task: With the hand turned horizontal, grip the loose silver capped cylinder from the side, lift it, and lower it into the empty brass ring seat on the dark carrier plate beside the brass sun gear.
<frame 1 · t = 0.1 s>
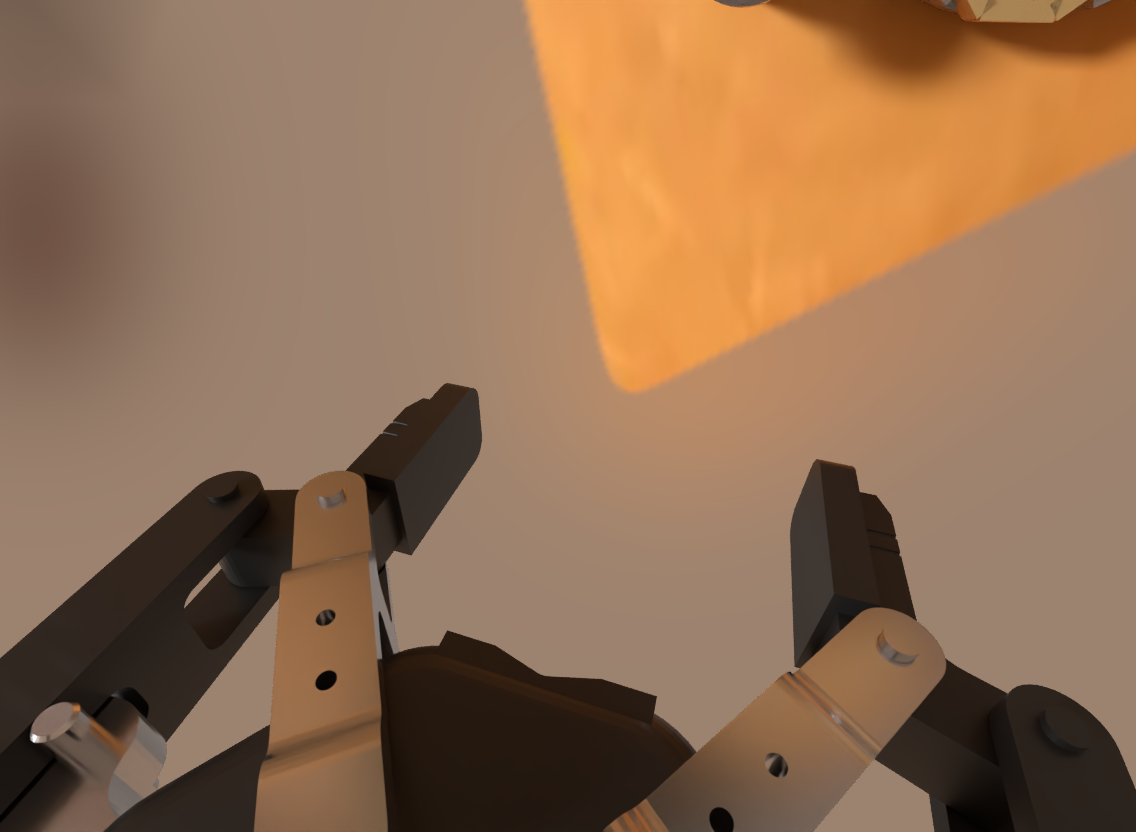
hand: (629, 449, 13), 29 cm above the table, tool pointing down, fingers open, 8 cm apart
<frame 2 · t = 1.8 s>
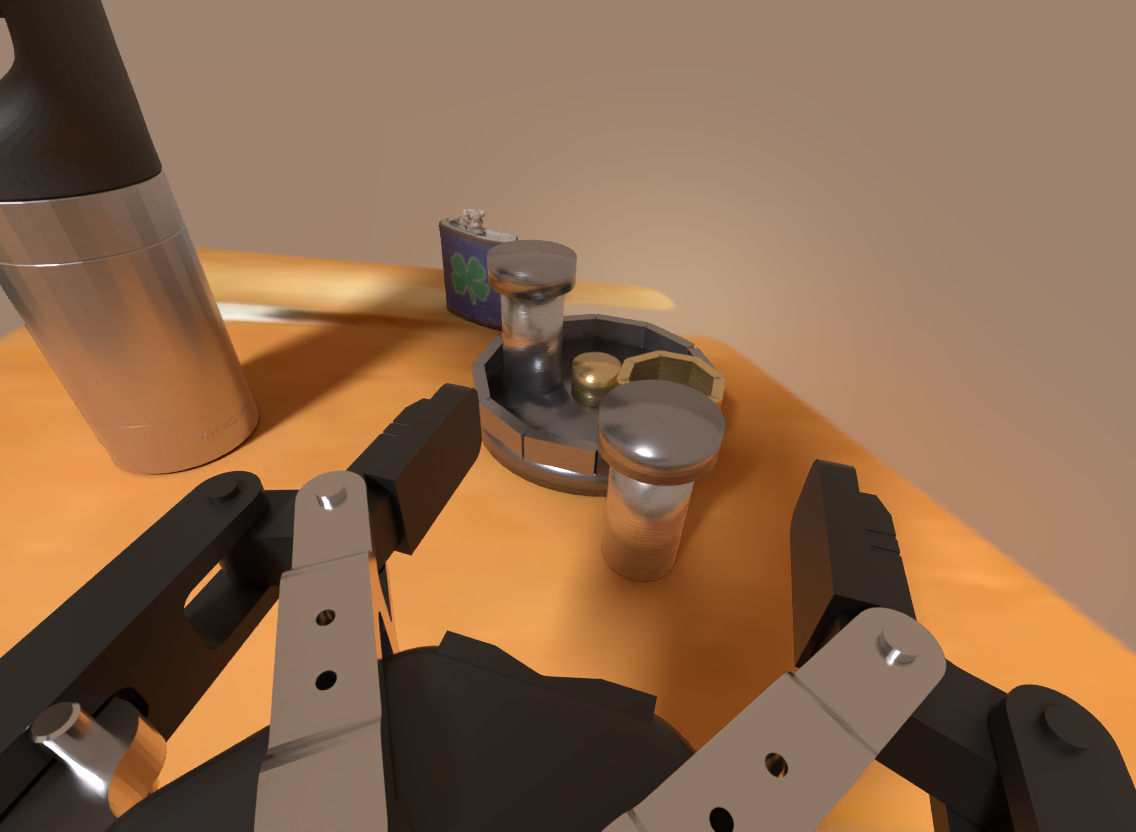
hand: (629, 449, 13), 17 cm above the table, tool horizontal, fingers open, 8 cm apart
flask: (481, 319, 55), on the table
carrier: (593, 413, 42), on the table
silver capped cylinder: (638, 549, 32), on the table
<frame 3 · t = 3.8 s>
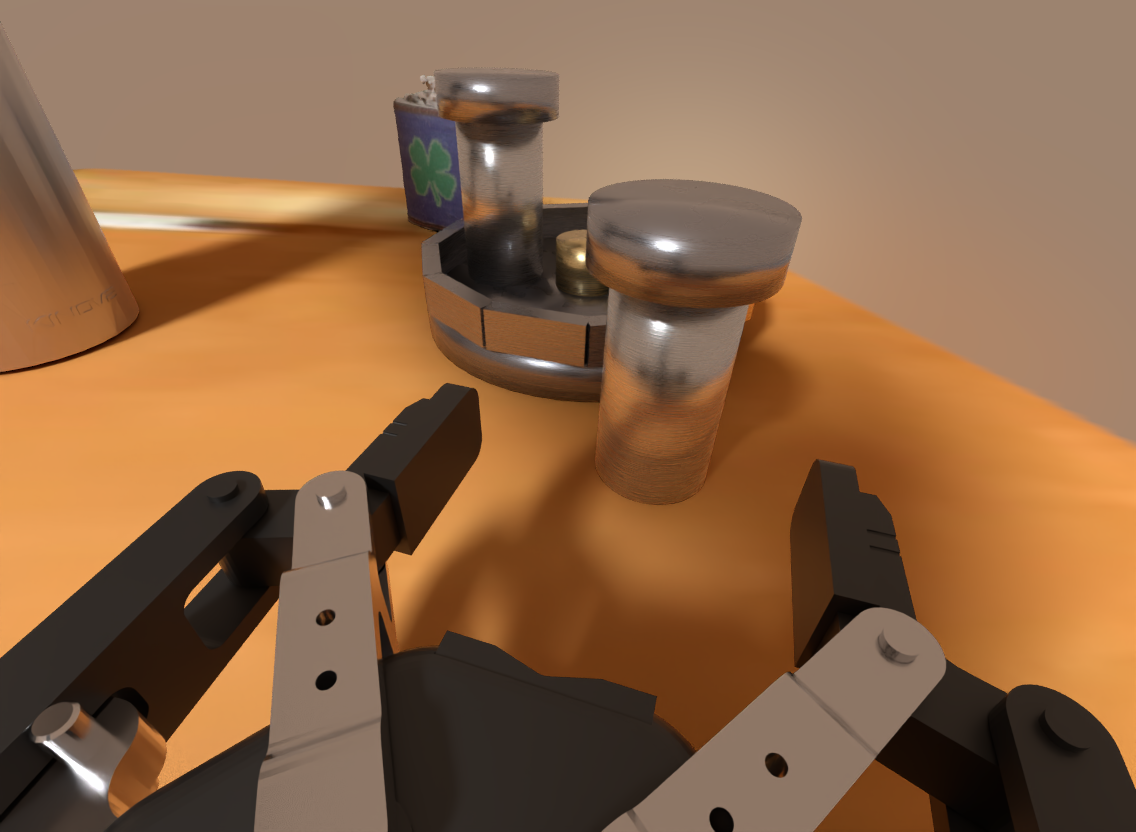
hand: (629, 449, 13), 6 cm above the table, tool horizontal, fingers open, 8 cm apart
flask: (449, 230, 45), on the table
carrier: (585, 315, 32), on the table
silver capped cylinder: (650, 464, 21), on the table
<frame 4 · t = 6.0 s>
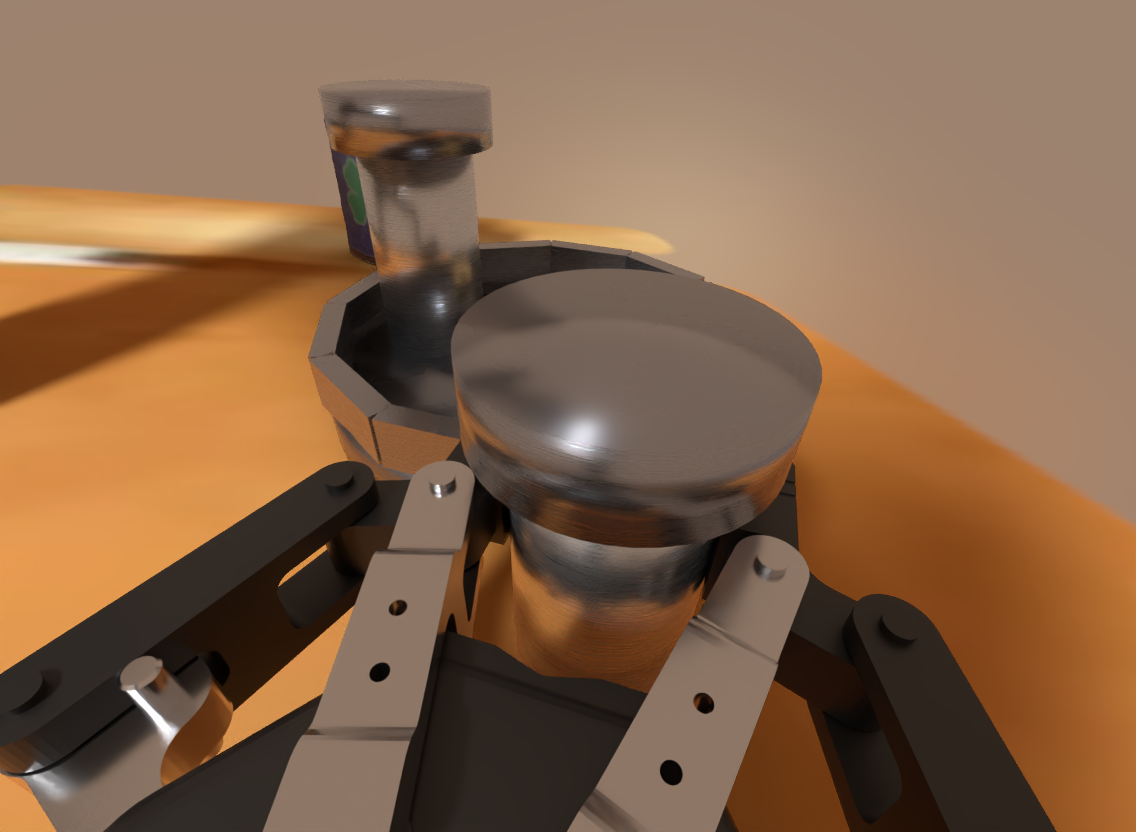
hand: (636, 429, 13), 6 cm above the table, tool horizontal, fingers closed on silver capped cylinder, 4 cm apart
flask: (396, 264, 38), on the table
carrier: (538, 388, 26), on the table
silver capped cylinder: (595, 655, 15), on the table, touching gripper
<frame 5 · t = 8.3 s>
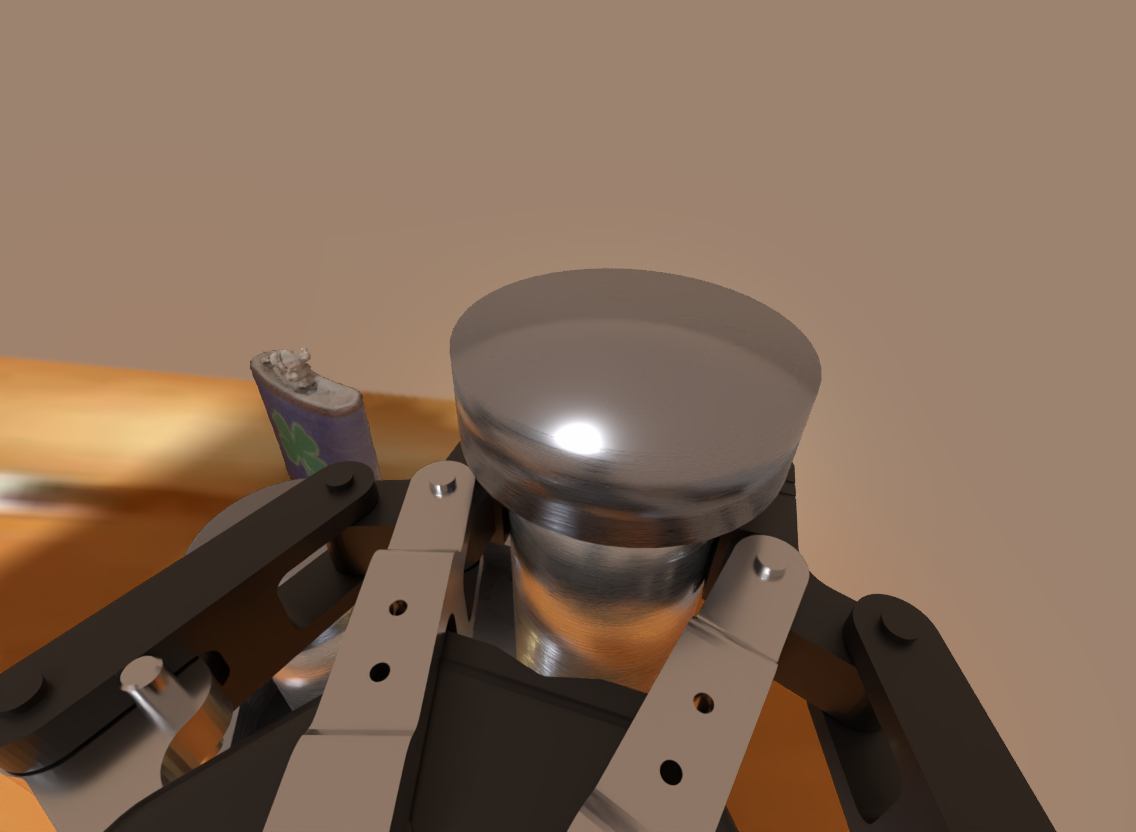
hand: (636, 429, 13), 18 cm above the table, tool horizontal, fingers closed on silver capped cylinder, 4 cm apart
flask: (335, 491, 36), on the table
carrier: (460, 746, 24), on the table
silver capped cylinder: (595, 655, 15), point 12 cm above the table, touching gripper
when the fingers open (9 cm above the table, at t = 10.8 s): silver capped cylinder stays where it is, resting on carrier.
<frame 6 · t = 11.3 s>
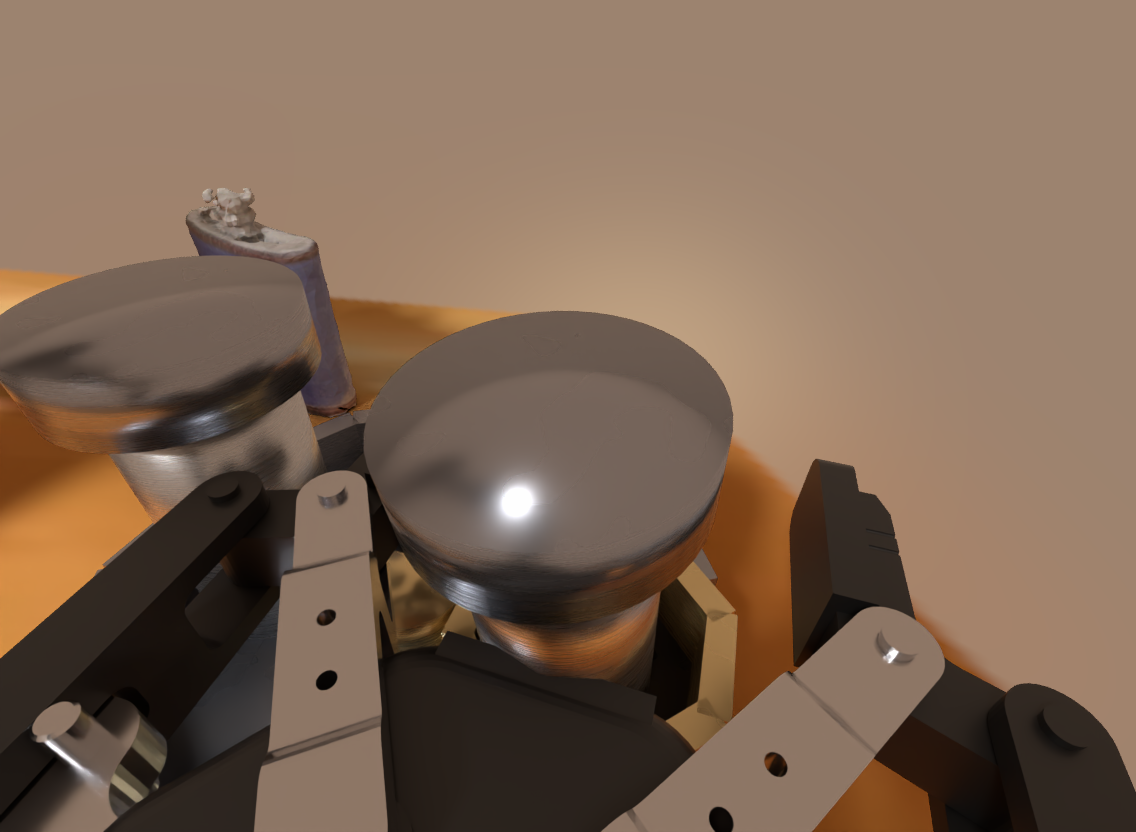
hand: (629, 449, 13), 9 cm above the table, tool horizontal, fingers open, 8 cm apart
flask: (296, 388, 31), on the table
carrier: (428, 652, 18), on the table
silver capped cylinder: (572, 670, 15), point 2 cm above the table, tilted 5°, touching carrier, gripper
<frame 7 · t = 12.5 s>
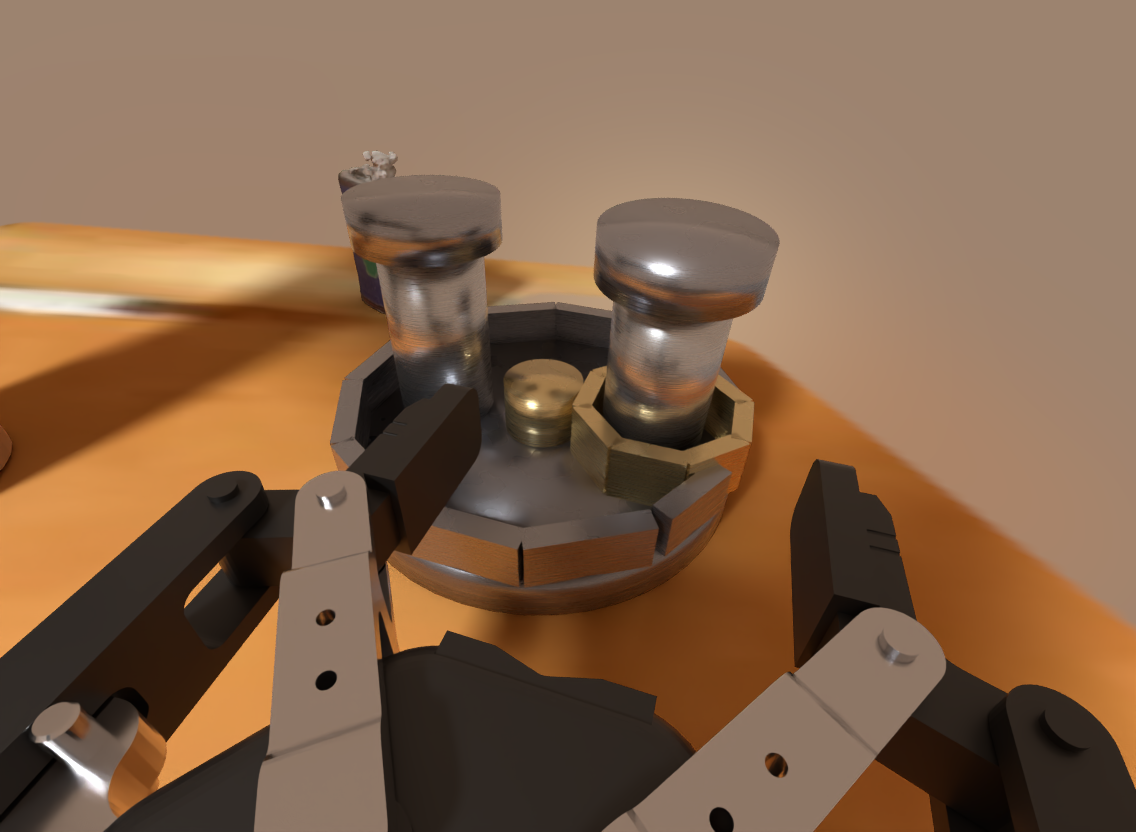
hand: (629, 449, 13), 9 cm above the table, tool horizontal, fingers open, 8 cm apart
flask: (406, 312, 40), on the table
carrier: (543, 454, 27), on the table
silver capped cylinder: (647, 445, 24), point 2 cm above the table, touching carrier
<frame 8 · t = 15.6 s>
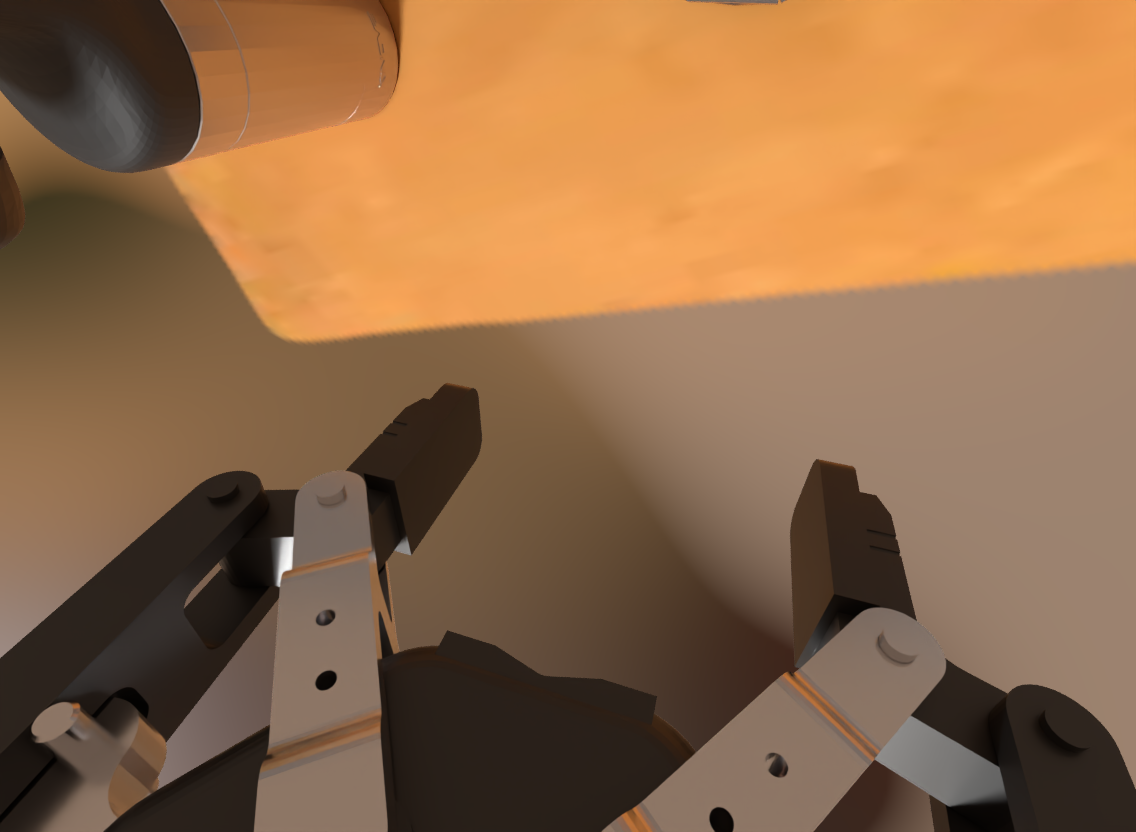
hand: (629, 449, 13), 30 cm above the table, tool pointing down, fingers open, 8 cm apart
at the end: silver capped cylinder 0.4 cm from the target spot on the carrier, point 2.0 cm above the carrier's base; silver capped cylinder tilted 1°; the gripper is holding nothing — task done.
